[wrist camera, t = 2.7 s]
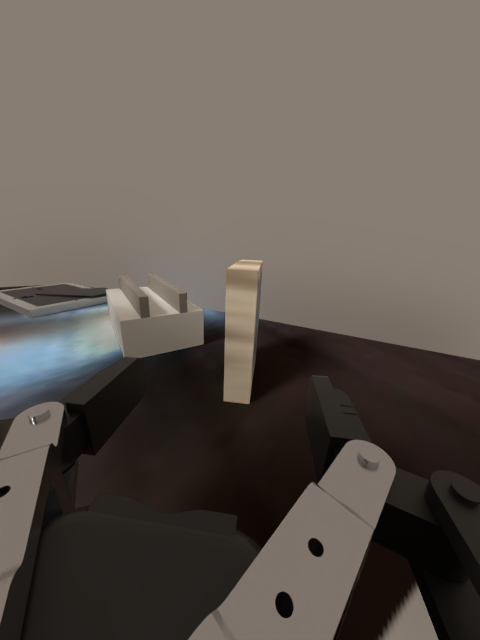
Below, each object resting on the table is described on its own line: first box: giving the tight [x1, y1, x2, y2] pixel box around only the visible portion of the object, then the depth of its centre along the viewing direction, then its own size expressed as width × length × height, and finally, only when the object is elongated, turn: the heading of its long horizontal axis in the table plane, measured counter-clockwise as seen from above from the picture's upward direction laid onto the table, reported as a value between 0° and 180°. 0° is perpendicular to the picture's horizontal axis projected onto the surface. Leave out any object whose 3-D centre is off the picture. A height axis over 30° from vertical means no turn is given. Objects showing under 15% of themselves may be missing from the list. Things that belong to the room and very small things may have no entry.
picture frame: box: [0, 282, 108, 318], centre depth 51 cm, size 16×3×21 cm
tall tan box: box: [224, 260, 263, 404], centre depth 24 cm, size 9×2×12 cm, turn 173°
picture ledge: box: [106, 273, 204, 358], centre depth 36 cm, size 18×10×8 cm, turn 33°
